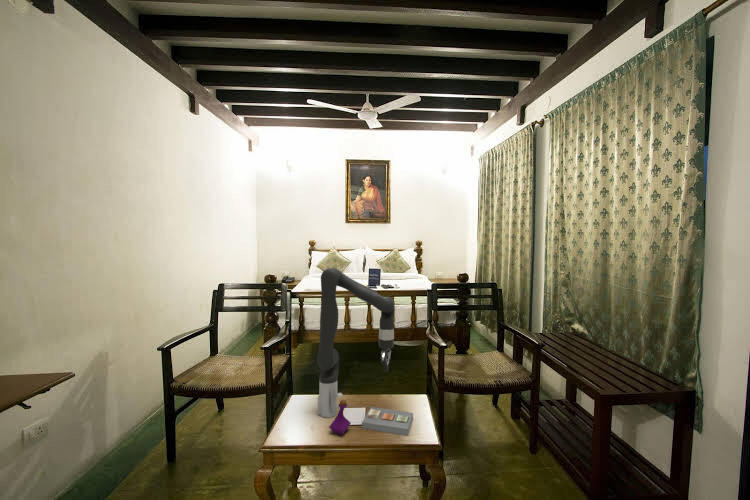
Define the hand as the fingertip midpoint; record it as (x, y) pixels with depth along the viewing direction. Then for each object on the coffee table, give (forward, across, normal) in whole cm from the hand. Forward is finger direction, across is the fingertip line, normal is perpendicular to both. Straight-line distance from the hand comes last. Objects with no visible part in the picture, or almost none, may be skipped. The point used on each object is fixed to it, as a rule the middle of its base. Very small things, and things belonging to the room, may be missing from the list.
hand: (385, 371), depth 165 cm
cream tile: (+22, +4, -4) cm, 22 cm away
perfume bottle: (+24, +17, -17) cm, 34 cm away
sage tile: (+22, +4, +10) cm, 25 cm away
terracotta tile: (+22, +4, +3) cm, 23 cm away
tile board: (+24, +4, +3) cm, 24 cm away
